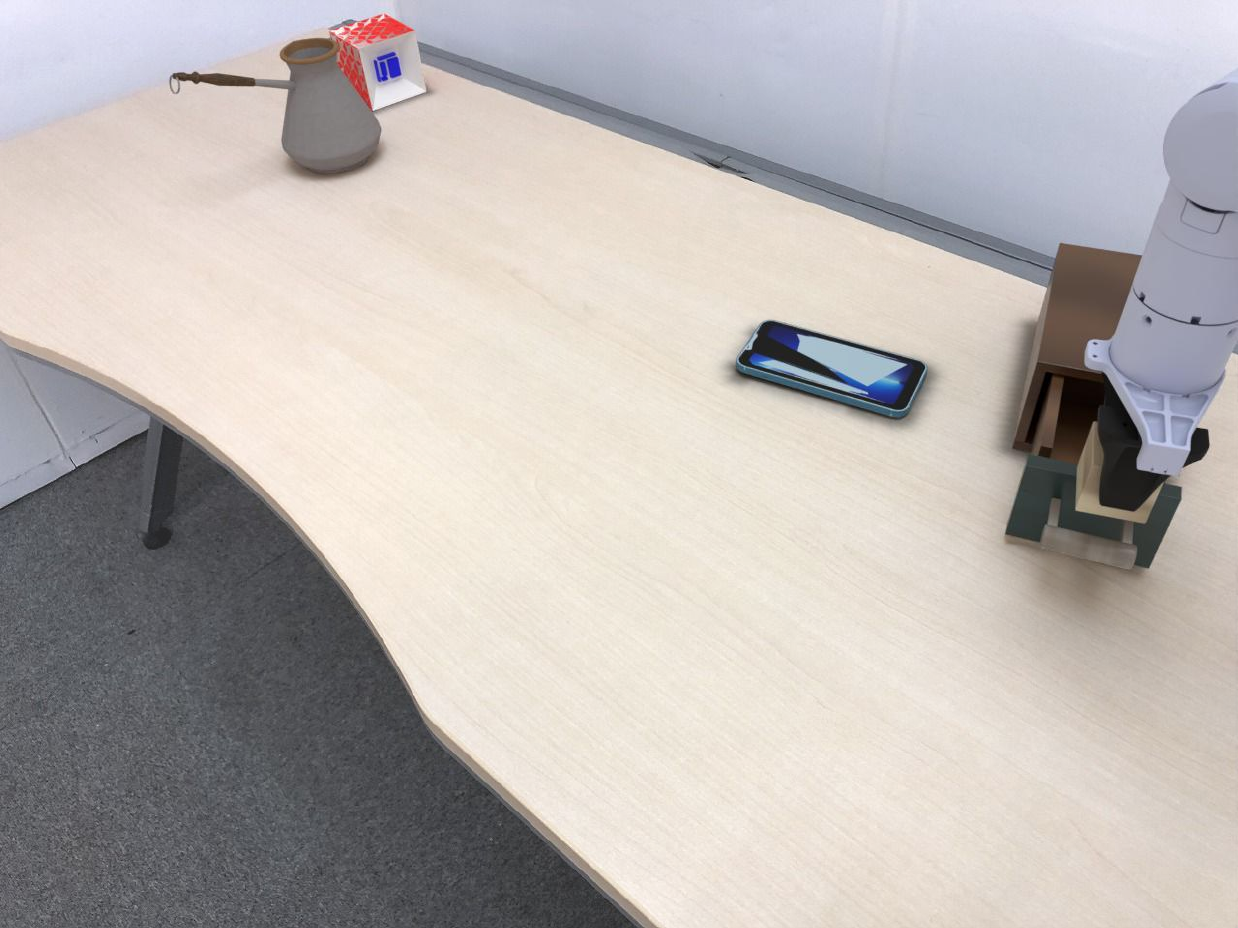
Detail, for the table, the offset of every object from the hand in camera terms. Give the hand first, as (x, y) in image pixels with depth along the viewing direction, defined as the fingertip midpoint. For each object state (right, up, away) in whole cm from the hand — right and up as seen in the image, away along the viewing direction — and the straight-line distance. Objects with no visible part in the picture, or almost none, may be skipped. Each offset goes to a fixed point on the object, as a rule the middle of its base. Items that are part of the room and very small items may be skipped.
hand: (1117, 478), depth 63 cm
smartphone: (-13, +9, +25) cm, 29 cm away
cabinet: (+8, +6, +21) cm, 23 cm away
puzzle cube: (-61, +49, +71) cm, 106 cm away
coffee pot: (-67, +34, +56) cm, 94 cm away
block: (0, -1, +1) cm, 1 cm away
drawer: (+3, -1, +12) cm, 12 cm away
